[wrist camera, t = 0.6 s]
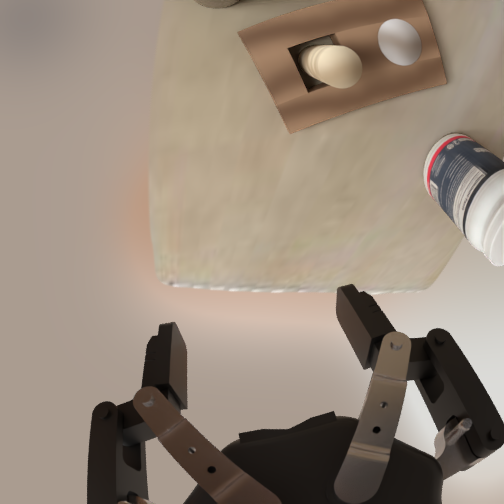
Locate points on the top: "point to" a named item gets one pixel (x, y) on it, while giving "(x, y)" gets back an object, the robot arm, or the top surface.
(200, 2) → the supplement bottle
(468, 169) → the supplement tub
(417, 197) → the top surface
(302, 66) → the birch peg
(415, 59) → the walnut board
